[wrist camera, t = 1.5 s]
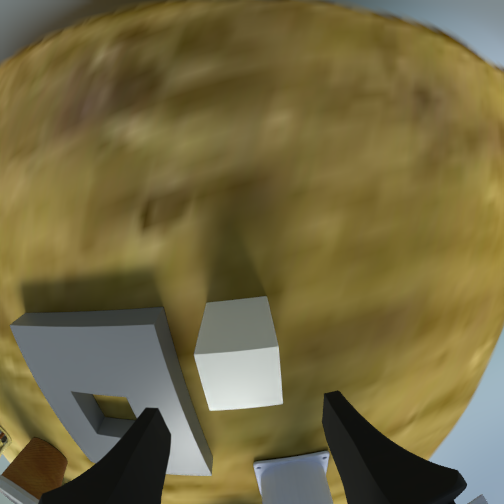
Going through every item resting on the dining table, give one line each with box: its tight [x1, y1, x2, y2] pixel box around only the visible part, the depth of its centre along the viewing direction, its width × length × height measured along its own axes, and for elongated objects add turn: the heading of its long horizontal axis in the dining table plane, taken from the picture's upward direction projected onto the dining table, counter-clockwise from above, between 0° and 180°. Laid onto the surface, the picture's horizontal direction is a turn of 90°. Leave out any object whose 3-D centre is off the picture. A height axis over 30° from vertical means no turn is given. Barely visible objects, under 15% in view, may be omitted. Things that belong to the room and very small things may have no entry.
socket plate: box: [10, 307, 213, 476], centre depth 19 cm, size 18×14×2 cm
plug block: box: [194, 296, 283, 411], centre depth 16 cm, size 4×4×6 cm
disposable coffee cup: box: [0, 437, 68, 504], centre depth 18 cm, size 10×10×12 cm
